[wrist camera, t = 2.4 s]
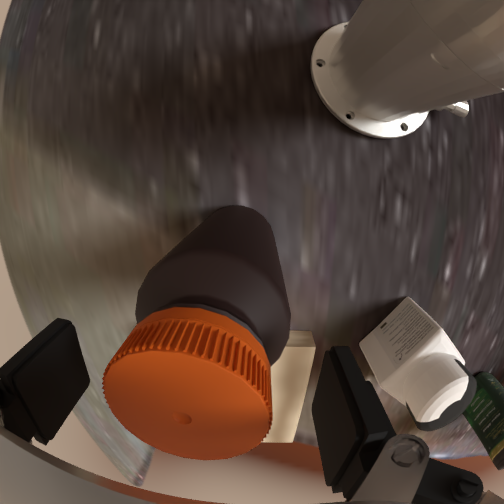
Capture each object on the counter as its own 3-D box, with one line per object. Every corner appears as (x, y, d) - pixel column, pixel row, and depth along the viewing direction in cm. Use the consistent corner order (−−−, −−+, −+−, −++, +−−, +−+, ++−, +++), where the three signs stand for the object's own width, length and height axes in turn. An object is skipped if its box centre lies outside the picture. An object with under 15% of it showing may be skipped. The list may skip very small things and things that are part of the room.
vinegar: (185, 242, 26) (50, 387, 7) (236, 188, 24) (151, 245, 5) (238, 290, 27) (203, 487, 8) (289, 241, 26) (357, 416, 6)
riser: (311, 330, 28) (315, 347, 25) (290, 425, 32) (292, 442, 30) (159, 320, 28) (150, 334, 25) (174, 416, 33) (169, 432, 30)
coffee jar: (447, 402, 32) (494, 479, 14) (478, 365, 30) (537, 437, 12) (470, 408, 33) (511, 472, 15) (497, 376, 31) (546, 436, 13)
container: (435, 329, 28) (492, 393, 16) (390, 371, 30) (430, 447, 17) (406, 294, 27) (474, 361, 14) (356, 342, 28) (398, 429, 16)
